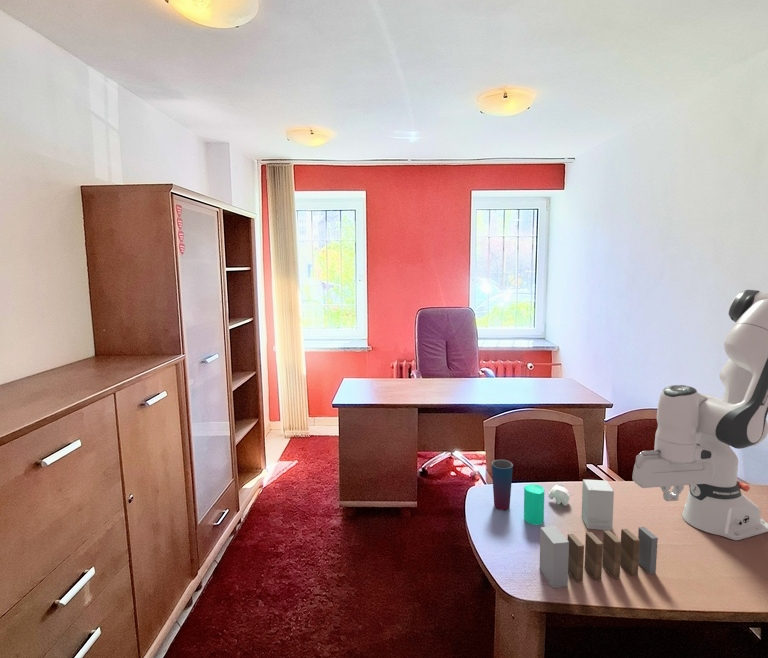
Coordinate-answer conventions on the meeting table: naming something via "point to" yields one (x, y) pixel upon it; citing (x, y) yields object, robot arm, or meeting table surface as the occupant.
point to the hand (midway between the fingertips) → (670, 500)
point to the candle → (534, 504)
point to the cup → (502, 483)
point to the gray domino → (647, 550)
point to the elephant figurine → (559, 494)
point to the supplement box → (597, 504)
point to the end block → (554, 556)
